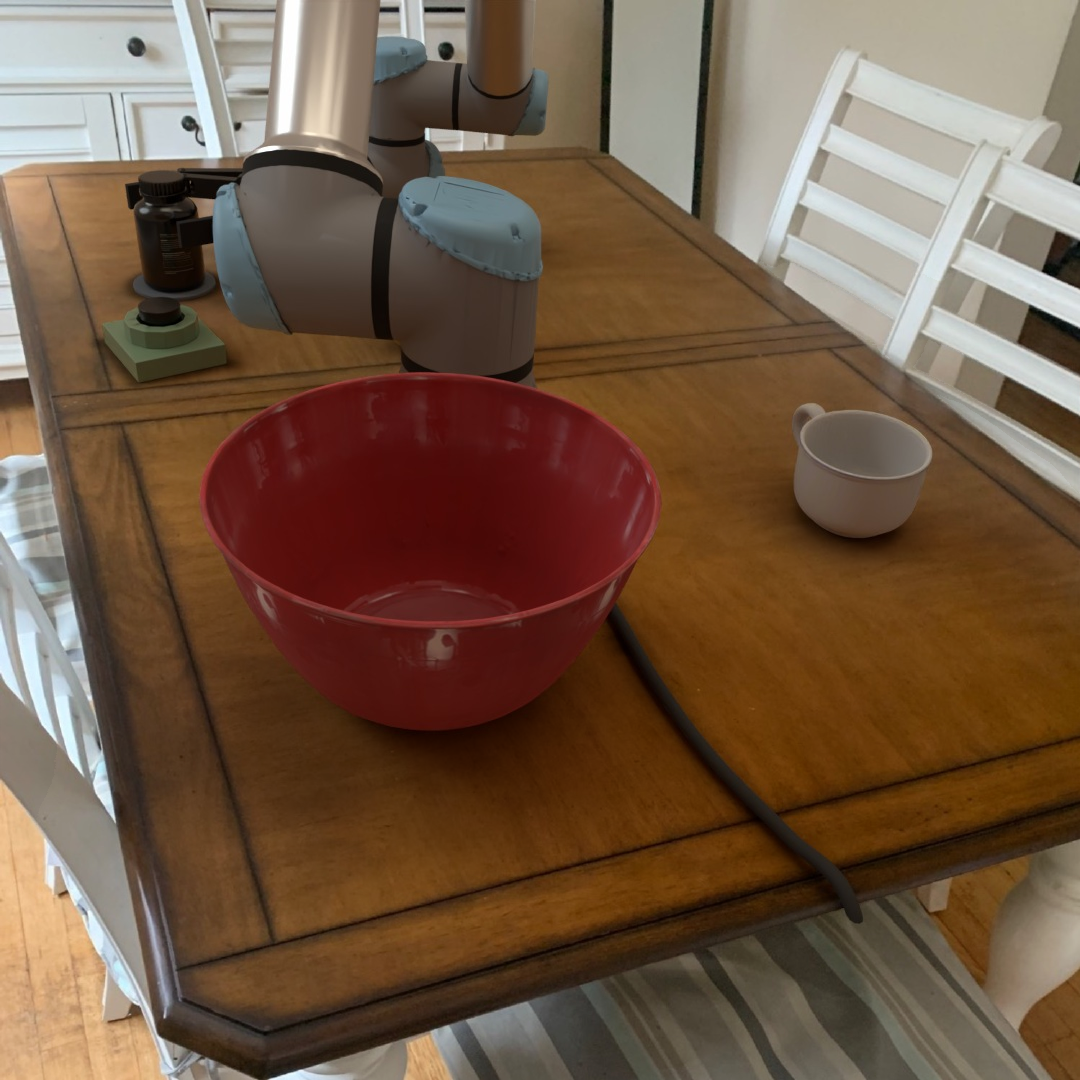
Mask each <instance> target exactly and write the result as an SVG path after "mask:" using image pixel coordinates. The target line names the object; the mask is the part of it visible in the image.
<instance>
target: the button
mask: <svg viewBox="0 0 1080 1080" xmlns="http://www.w3.org/2000/svg"><path fill="white" fill-rule="evenodd" d="M180 305H181V302H180V301H178V300H176V299H173V298H169V297H153V298H145V299H142V300H141V301H140V302H139V303H138V304H137V307H138V311H139V318H140V323H141V324H143V325H146V326H150V327H166V326H171V325H175V324H177V323H179V322H181V321H182V315H181V307H180Z"/></svg>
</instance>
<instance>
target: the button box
mask: <svg viewBox="0 0 1080 1080" xmlns="http://www.w3.org/2000/svg"><path fill="white" fill-rule="evenodd" d="M180 307H181V315H182V321H181V322H179V323H177V324H175V325H171V326H166V327H150V326H146V325H143V324H141V323H140V318H139V311H138V306H137V307H134V308H133V309H130V310H129V311H127V312H126V314H125V315H124V318H123V319H119V320H113V321H108V322H107V321H106V322H102V323H101V327H102V331H103V332H102V333H103V339H104V344H105V345H106V346H107V347H108V348H109V349H110V351H111V352H112V353H113V354H114V355H115V357H116V358H117V359H118V360H119V361H120V363H121V364H122V365H123V366H124V368H125V369H126V370H127V371H128V372H129V374H131V376H132V377H133V378H134V379H135V380H136V381H137V383H139V384H140V383H144V382H145V383H146V382H148V381H154V380H159V379H163V378H167V377H173V376H177V375H181V374H187V373H191V372H195V371H196V372H197V371H201V370H205V369H210V368H214V367H219V366H223V365H227V363H228V362H227V360H228V359H227V351H226V344H225V343H224V342H223V341H222V340H221V339H220V338H219V337H218V336H217V335H216V334H215V333H214V332H213V331H212V330H211V328H209V327H208V326H207V325H206V324H205V323H204V322H203V321H202V320H201V319H200V318H199V314H198V313H197V312H196V311H195V310H194V309H193V308H192V307H190V306H187V305H184V304H180Z"/></svg>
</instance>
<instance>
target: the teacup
mask: <svg viewBox="0 0 1080 1080" xmlns="http://www.w3.org/2000/svg"><path fill="white" fill-rule="evenodd" d="M809 418H810V419H809ZM808 419H809V420H808ZM791 428H792V435H793V438H794V441H795V443H796V445H797V448H798V449H797V450H798V451H797V456H796V462H795V468H794V475H793V491H794V496H795V500H796V502H797V504H798V506H799V508H800V509H801V510H802V512H803V513H804V514H805V515H806V516H807V517H808V518H809V519H811V520H812V521H813V522H814V523H815V524H816V525H817V526H819V527H820V528H822V529H823V530H825V531H828V532H830V533H832V534H834V535H837V536H840V537H844V538H852V539H866V538H871V537H876V536H878V535H882V534H885V533H886V534H887V533H889V532H892V531H894V530H896V529H898V528H899V527H901V526H902V525H903V524H905V522H906V521H907V520H908V519H909V518H910V516H911V515H912V513H913V512H914V509H915V508H916V506H917V503H918V500H919V497H920V495H921V491H922V489H923V486H924V482H925V479H926V475H927V472H928V469H929V467H930V465H931V463H932V460H933V449H932V446H931V444H930V441H929V440H928V439H927V438H926V436H925V435H924V434H923V433H921V431H919V430H918V429H917V428H915V427H913V426H912V425H910V424H908V423H906V422H904V421H902V420H901V419H898V418H896V417H893V416H890V415H887V414H883V413H878V412H874V411H870V410H869V411H868V410H861V409H844V410H843V409H842V410H832V411H829V412H826V411H825V409H824V408H823V407H822V406H821V405H819V404H818V403H815V402H808V403H804V404H802V405H800V406H799V407H797V408H796V409H795V411H794V413H793V416H792V420H791Z"/></svg>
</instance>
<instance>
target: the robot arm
mask: <svg viewBox="0 0 1080 1080" xmlns="http://www.w3.org/2000/svg"><path fill="white" fill-rule="evenodd" d="M536 4H537V0H464V17H465V21H464V22H465V49H466V53H465V54H466V62H465V63H464V62H451V61H441V60H440V61H439V60H431V59H428V55H427V48H426V45H425V44H424V43H423V42H421V40H418V39H416V38H415V39H414V38H409V37H405V36H379V35H378V33H379V24H380V23H379V21H380V12H381V0H276V6H275V15H274V16H275V17H274V26H273V27H274V28H273V39H272V51H271V62H270V63H271V64H270V70H269V71H270V73H269V84H268V96H267V107H266V117H265V129H264V140H263V142H262V144H260V145H259V146H258V147H257V146H256V148H254V149H253V150H251V151H249V152H248V153H247V154H246V155H245V156H244V157H243V161H242V162H243V163H242V168H240V167H239V168H238V167H237V168H236V167H235V168H234V167H233V168H232V167H229V168H227V167H224V168H223V167H222V168H221V167H215V168H214V167H179V168H177V169H176V172H179V173H181V174H183V175H184V178H185V187H186V190H187V193H186V194H185V196H186V197H188V198H189V199H203V200H213V201H214V202H213V209H212V215H208V216H201V217H199V218H195V219H189V220H183V221H177V222H176V223H177V232H178V240H179V247H181V248H182V249H184V248H190V247H195V246H201V245H202V246H205V245H211V244H213V251H214V259H215V266H216V271H217V275H218V279H219V280H218V281H219V284H220V288H221V291H222V294H223V297H224V301H225V303H226V305H227V307H228V309H229V311H230V312H231V314H232V315H233V317H234V318H235V319H236V320H237V322H239V323H241V324H242V325H244V326H246V327H248V328H252V329H258V330H264V331H265V330H267V331H272V332H280V333H283V334H285V335H287V336H292V335H293V334H304V335H305V334H307V335H321V336H332V337H335V336H336V337H346V338H347V337H348V338H359V339H369V340H370V339H371V340H384V341H394V340H395V341H401V346H400V366H399V367H400V369H399V371H398V373H414V372H429V373H453V374H464V375H474V376H482V377H488V378H494V379H499V380H504V381H509V382H513V383H518V384H522V385H526V386H530V387H533V388H536V389H538V387H537V382H536V379H535V376H534V375H535V374H534V363H535V360H534V359H535V349H536V347H535V346H536V330H537V315H538V313H537V312H538V299H539V283H540V282H539V281H540V278H541V277H542V274H543V269H544V263H543V260H542V225H541V222H540V218H539V217H538V215H537V213H536V212H535V211H534V209H533V208H532V207H531V206H530V205H529V204H528V203H527V202H526V201H524V200H523V199H521V198H520V197H518V196H516V195H514V194H513V193H511V192H509V191H507V190H505V189H502V188H500V187H498V186H495V185H492V184H490V183H485V182H482V181H479V180H473V179H469V178H463V177H457V176H448V175H446V168H445V167H444V165H443V156H442V154H441V152H440V150H439V148H438V147H437V146H436V144H435V143H433V142H432V141H431V140H428V139H426V129H434V130H447V131H460V132H469V133H471V132H472V133H481V134H490V135H498V136H499V135H501V136H508V137H515V136H526V137H527V136H530V137H532V136H533V137H536V136H539V135H541V134H542V133H543V132H544V131H545V128H546V122H547V111H548V110H547V109H548V97H549V96H548V95H549V82H550V81H549V79H550V78H549V74H548V72H546V71H545V70H544V69H538V68H535V67H534V50H535V28H536V7H537V5H536ZM124 188H125V193H126V201H127V208H128V209H129V210H134V207H135V205H136V203H137V202H138V201H139V200H140V199H142V198H143V197H142V196H141V195H140V193H139V181H136V182H129V183H124ZM395 341H394V342H395ZM608 615H609V617H610V618H611V620H612V622H613V624H614V626H615V627H616V629H617V630H618V632H619V634H620V635H621V637H622V640H623V641H624V642H625V645H626V646H627V648H628V650H629V652H630V654H631V656H632V658H633V659H634V661H635V662H636V664H637V666H638V669H639V670H640V671H641V673H642V674H643V677H644V678H645V680H646V682H647V683H648V684H649V686H650V687H651V689H652V690H653V692H654V693H655V695H656V696H657V698H658V699H659V701H660V702H661V704H662V705H663V707H664V708H665V710H666V711H667V713H668V714H669V715H670V717H671V718H672V720H673V721H674V723H675V724H676V726H677V727H678V728H679V729H680V732H682V733H683V735H684V736H685V738H686V739H687V740H688V742H690V744H691V745H692V746H693V748H694V749H695V750H696V751H697V752H698V754H699V755H700V756H701V757H702V759H703V760H704V761H705V763H706V764H708V766H709V767H710V768H711V769H712V770H713V772H714V773H716V775H717V776H718V777H719V778H720V779H721V780H722V781H723V782H724V784H726V786H727V787H728V788H729V789H730V790H731V791H732V792H733V793H734V794H735V795H736V796H737V797H738V798H739V799H740V800H741V801H742V802H743V803H744V804H745V805H746V806H747V807H748V808H749V809H750V810H751V811H752V812H753V813H754V814H755V815H756V816H757V817H758V819H760V820H761V821H762V822H763V823H764V824H765V825H766V826H767V827H768V828H769V829H770V830H771V831H772V832H773V833H774V835H776V836H777V838H778V839H780V840H781V842H783V843H784V844H785V845H786V846H787V847H788V848H789V849H790V850H791V851H792V852H793V853H794V854H796V855H797V856H799V857H800V858H801V859H802V860H804V861H805V863H807V864H809V865H810V866H811V867H813V868H814V869H815V870H816V871H817V872H818V873H820V874H821V875H822V876H823V877H824V878H825V879H826V880H827V882H828V883H829V884H830V885H831V886H832V888H833V890H834V891H835V893H836V895H837V896H838V898H839V901H840V904H841V905H842V907H843V910H844V914H845V916H846V917H847V918H848V920H849V921H851V922H852V923H854V924H858V925H860V924H862V923H863V922H864V915H863V912H862V909H861V908H862V907H861V905H860V903H859V900H858V897H857V895H856V894H855V891H854V890H853V887H852V886H851V883H849V881H848V879H847V877H845V875H844V874H843V872H842V871H841V870H840V869H839V868H838V867H837V866H836V865H835V864H834V863H833V862H832V861H831V860H829V859H828V858H827V857H826V856H825V855H824V854H822V853H821V852H819V850H817V849H816V848H814V847H813V846H812V845H811V844H809V843H807V842H806V841H805V840H804V839H803V838H802V837H801V836H799V835H798V834H797V833H796V832H795V831H794V830H793V829H792V828H791V826H789V825H788V824H787V823H786V822H785V821H784V820H783V819H782V818H781V817H780V816H779V815H778V814H777V813H776V812H775V811H774V809H772V808H771V807H770V806H769V805H768V804H767V803H766V801H764V800H763V799H762V798H761V797H760V796H759V795H758V794H756V792H755V791H754V790H753V789H752V788H751V787H750V786H749V785H748V784H747V783H746V782H744V780H743V779H742V778H741V777H739V775H738V774H737V773H736V772H735V771H734V770H733V769H732V767H730V765H729V764H728V763H727V762H725V760H724V759H723V758H722V757H721V755H720V754H718V752H717V751H716V750H715V749H714V747H713V746H712V745H711V744H710V743H709V742H708V740H707V739H706V738H705V737H704V735H703V734H702V733H701V732H700V730H699V729H698V728H697V727H696V725H695V724H694V723H693V721H692V720H691V718H689V717H688V715H687V714H686V712H685V711H684V709H683V708H682V706H681V705H680V704H679V702H678V701H677V700H676V698H675V696H674V695H673V694H672V692H671V690H670V689H669V688H668V686H667V684H666V683H665V681H664V680H663V678H662V677H661V676H660V674H659V673H658V671H657V669H656V668H655V666H654V665H653V663H652V661H651V659H650V658H649V657H648V655H647V653H646V651H645V650H644V647H643V646H642V644H641V643H640V641H639V639H638V637H637V636H636V634H635V632H634V630H633V628H632V626H631V625H630V623H629V622H628V620H627V618H626V617H625V615H624V613H623V611H622V610H621V609H620V607H619V605H618V604H617V602H616V603H615V604H614V606H613V608H612V609H611V611H610V612H609V614H608Z"/></svg>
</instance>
